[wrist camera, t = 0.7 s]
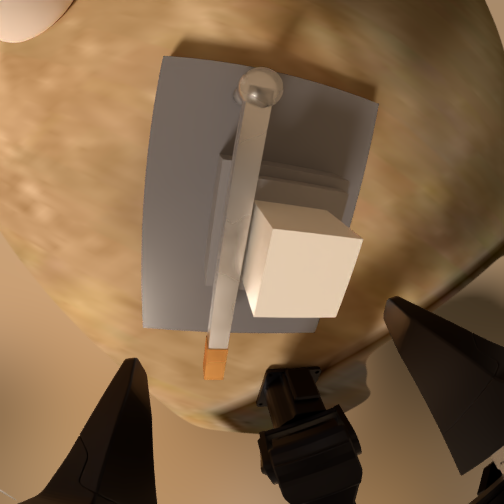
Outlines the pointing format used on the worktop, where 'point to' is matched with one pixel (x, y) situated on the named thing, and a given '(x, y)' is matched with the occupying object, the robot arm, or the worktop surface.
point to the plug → (297, 250)
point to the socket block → (217, 176)
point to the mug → (28, 17)
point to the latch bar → (238, 209)
